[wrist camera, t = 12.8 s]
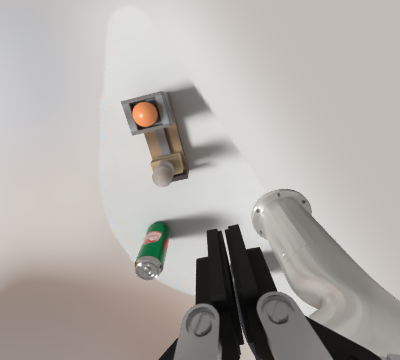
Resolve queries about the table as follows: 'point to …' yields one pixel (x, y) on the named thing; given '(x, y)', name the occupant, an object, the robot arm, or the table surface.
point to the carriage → (166, 168)
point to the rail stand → (158, 129)
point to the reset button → (145, 114)
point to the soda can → (153, 252)
